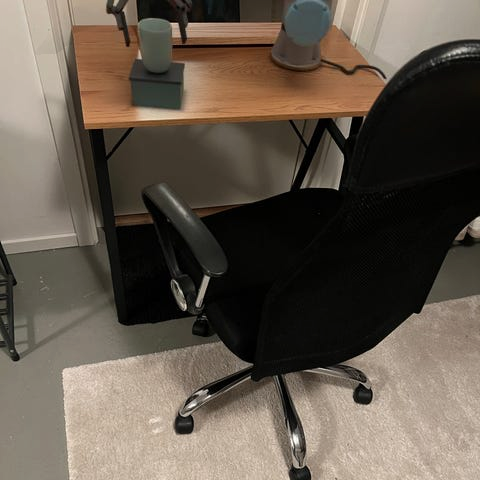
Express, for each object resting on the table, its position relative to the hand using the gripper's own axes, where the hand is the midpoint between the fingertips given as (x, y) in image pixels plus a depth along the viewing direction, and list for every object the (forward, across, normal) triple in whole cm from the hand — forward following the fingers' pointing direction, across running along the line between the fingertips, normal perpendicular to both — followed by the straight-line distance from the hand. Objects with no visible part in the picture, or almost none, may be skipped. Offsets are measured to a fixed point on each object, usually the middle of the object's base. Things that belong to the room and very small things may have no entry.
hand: (157, 43), depth 110 cm
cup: (+4, 0, -5) cm, 6 cm away
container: (+9, 0, -9) cm, 13 cm away
